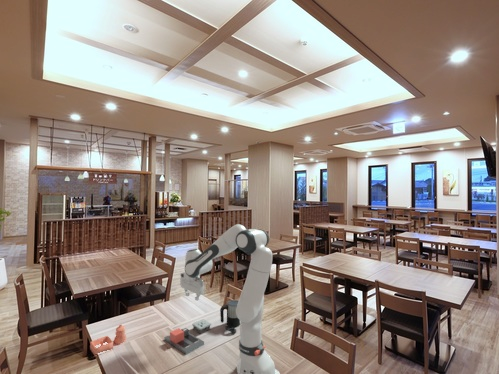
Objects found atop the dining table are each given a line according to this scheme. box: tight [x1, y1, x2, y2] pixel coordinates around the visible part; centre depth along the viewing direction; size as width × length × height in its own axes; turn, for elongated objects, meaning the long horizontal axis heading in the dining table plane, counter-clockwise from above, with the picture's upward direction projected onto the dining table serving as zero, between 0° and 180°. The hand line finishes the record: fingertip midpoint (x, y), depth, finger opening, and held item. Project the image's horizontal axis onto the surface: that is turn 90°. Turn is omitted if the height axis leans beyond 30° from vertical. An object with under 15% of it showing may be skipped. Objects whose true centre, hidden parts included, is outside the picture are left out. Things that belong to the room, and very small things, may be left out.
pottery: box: [89, 324, 127, 357], centre depth 151 cm, size 18×10×10 cm, turn 137°
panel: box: [163, 328, 205, 355], centre depth 155 cm, size 22×13×2 cm, turn 50°
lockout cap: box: [169, 328, 184, 344], centre depth 154 cm, size 6×6×5 cm
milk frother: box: [219, 299, 241, 334], centre depth 172 cm, size 14×16×15 cm
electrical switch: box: [191, 319, 212, 335], centre depth 169 cm, size 9×5×9 cm
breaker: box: [181, 327, 190, 336], centre depth 160 cm, size 3×3×3 cm
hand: (192, 298), depth 158 cm, fingers open, 8 cm apart
